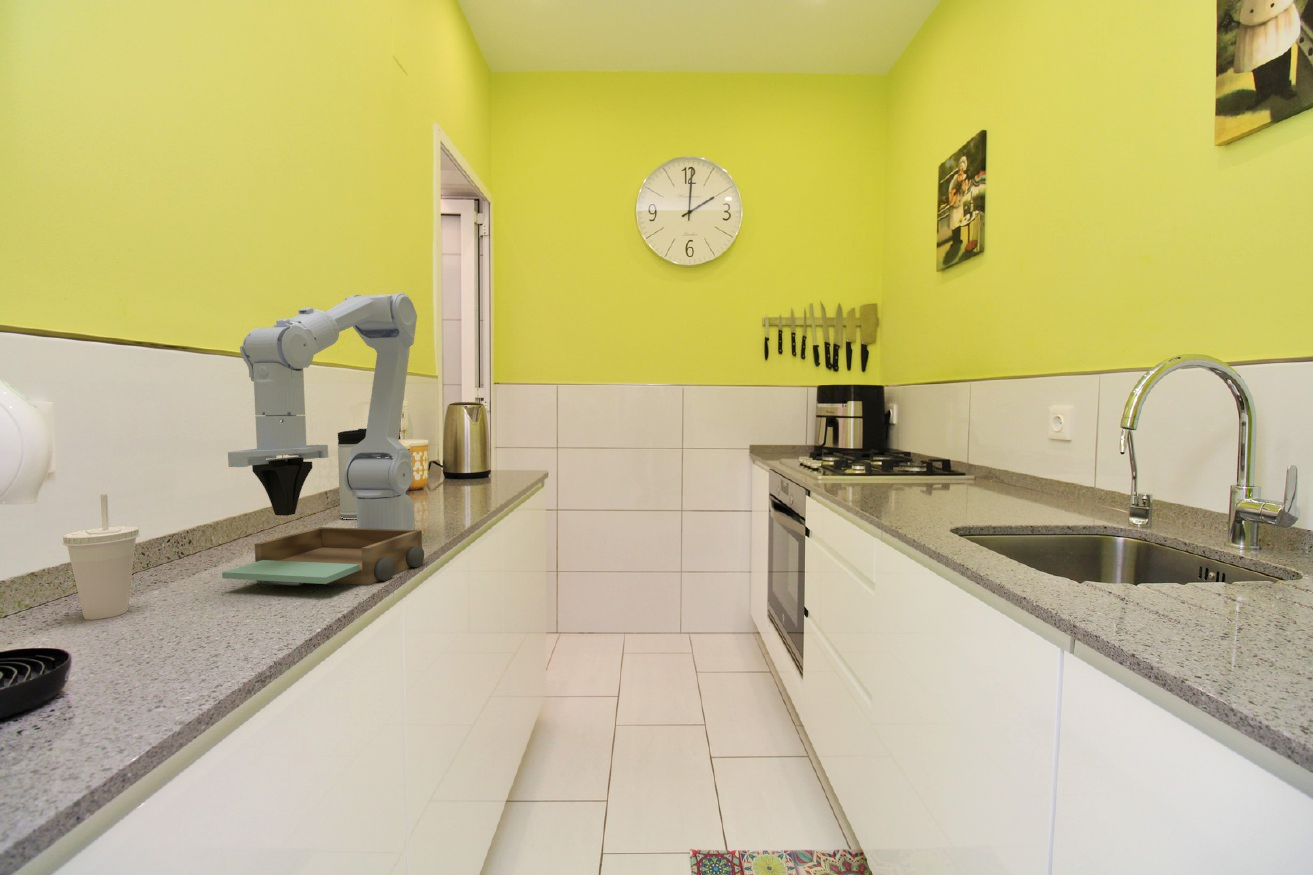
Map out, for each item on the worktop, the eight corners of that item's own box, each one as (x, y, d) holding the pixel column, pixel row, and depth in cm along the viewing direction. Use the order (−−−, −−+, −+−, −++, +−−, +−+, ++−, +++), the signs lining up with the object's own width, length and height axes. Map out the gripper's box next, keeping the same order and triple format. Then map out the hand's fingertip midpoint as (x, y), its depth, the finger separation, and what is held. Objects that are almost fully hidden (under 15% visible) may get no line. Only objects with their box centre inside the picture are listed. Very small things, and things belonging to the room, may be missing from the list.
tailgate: (262, 559, 80) (222, 572, 74) (359, 564, 77) (325, 577, 71) (262, 571, 80) (222, 584, 74) (360, 576, 77) (326, 590, 71)
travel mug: (378, 515, 132) (376, 428, 131) (357, 520, 126) (354, 429, 125) (355, 514, 134) (352, 428, 133) (333, 519, 127) (330, 429, 126)
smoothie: (96, 625, 63) (89, 498, 62) (51, 621, 64) (44, 497, 64) (157, 606, 69) (151, 490, 69) (115, 603, 70) (109, 490, 70)
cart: (316, 557, 92) (315, 526, 92) (428, 562, 88) (427, 530, 88) (250, 578, 81) (248, 543, 80) (375, 585, 77) (374, 548, 77)
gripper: (260, 416, 70) (265, 525, 71) (344, 414, 85) (348, 506, 85) (211, 416, 72) (217, 524, 72) (303, 415, 86) (307, 505, 87)
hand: (285, 514), depth 79 cm, fingers closed
